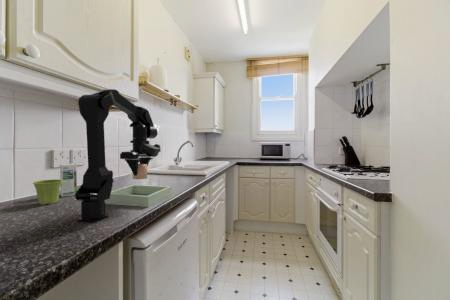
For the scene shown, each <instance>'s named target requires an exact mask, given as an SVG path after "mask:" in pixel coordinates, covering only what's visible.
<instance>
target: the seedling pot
mask: <svg viewBox="0 0 450 300" xmlns="http://www.w3.org/2000/svg"><path fill="white" fill-rule="evenodd" d="M131 172H132V171H131ZM131 176H132V179H133V180H144V179H145V180H146V179H148V166H147V164H140V163H138V171H137V176H134V174H133V172H132V175H131Z"/></svg>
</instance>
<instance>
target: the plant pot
mask: <svg viewBox="0 0 450 300" xmlns="http://www.w3.org/2000/svg"><path fill="white" fill-rule="evenodd" d="M61 182H62V180H60V179H44V180H38V181H34V182H32V185H34V188H35V191H36V195H37V201H38V205H42V206H45V205H46V204H51V205H53V204H55V203H58V202H59V198H60V197H59V196H60V185H61Z"/></svg>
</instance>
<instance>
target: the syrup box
mask: <svg viewBox="0 0 450 300" xmlns="http://www.w3.org/2000/svg"><path fill="white" fill-rule="evenodd" d="M59 180H62V182H61V185H60V190H59V192H60V196H61V198H64V197H71V196H75V193H76V192H77V191H78V189H77V188H78V186H77V185H78V183H77V163H72V162H71V163H60V164H59Z"/></svg>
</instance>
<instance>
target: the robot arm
mask: <svg viewBox="0 0 450 300" xmlns="http://www.w3.org/2000/svg"><path fill="white" fill-rule="evenodd" d="M77 103H78V104H77V105H78V108H79V109H78V110H79V114H80V116H81V117H82V119H83V120H84V122H85V125H86V128H85V129H86V143H87V145H86V147H87V148H86V150H87V151H86V152H87V168H86V170H85V172H84V174H83V176H82V177H83V178H82V183H81V185H80V187H78V189H77V192H76V193H75V195H74V197H75V199H76V200H75V201H81V200H83V201H81V202H80V205H81V206H80V207H81V209H80V211H81V217H79V218H76V221H78V222H88V223H96V222H99V221H100V220H101V221H102V220H103V219H105V218H108V217H109V215H110V214H107V213H106V204H105V200H107V199H109V198H110V194H111V191H113V190H112V189H113V183H114V182H115V181H114V178H113V177H114V172H113V170H109V169H108V167H107V166H106V144H105V143H106V141H105V121H106V120H107V118H108V116H109V113H110V108H111V107H112V106H113V107H115V108H117V109H118V110H119V111H121V112H123V113H124V114H126V115H127V118H128V119H129V121H131V123H130V124H129V127H130V128H132V140H130V142H129V143H130V144H132V149H131V150H129V151H121V152H120V154H119V159H120V160H124V161H125V162H126V163H127V165H128V167H129V168H130V169H131V172H133V174H134V176H137V171H138V164H147V167H149V163H150V161H152V160H153V159H154V158H155V157H157V156H158V155H159V153H160V152H162V151H161V145H160V144H158V143H156V144H154V145H153V144H150V141H149V140H148V139H155V138H156V137H157V136H158V129H157V128H156V127H155V124H154V122H153V119H152V117H151V113H150V112H149V110H148V109H147V108H145V107H143V106H139V105H135V103H133V102H132V101H130V100H129V99H128V98H126V97H125V96H124V95H123V94H121V93H120V92H119V90H117V89H114V88H113V89H111V88H110V89H103V90H101V91H99V92H98V91H97V92H95V93H90V94H83V95H81V96H79V98H78V101H77ZM95 194H97V195H95Z"/></svg>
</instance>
